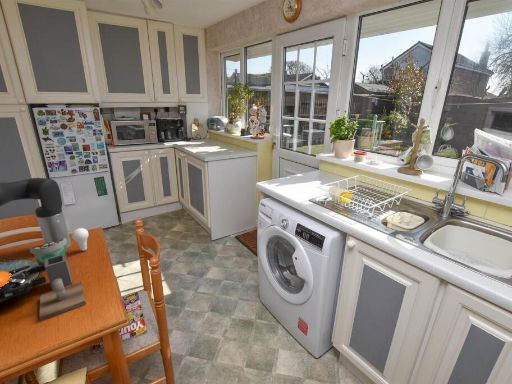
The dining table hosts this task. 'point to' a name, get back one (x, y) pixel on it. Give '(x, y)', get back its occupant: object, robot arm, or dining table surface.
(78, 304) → the post stand
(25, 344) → the dining table surface
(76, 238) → the lightbulb
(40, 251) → the food container
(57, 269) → the sleeve
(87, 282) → the dining table surface
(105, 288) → the dining table surface
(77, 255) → the dining table surface
